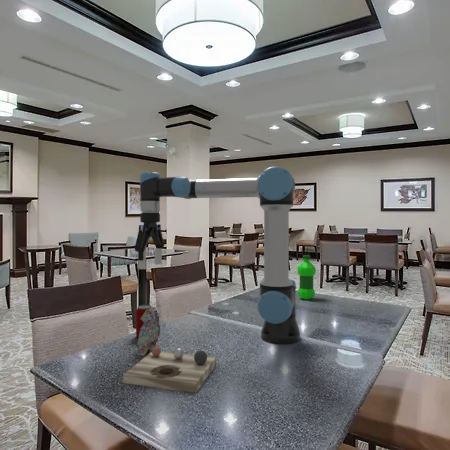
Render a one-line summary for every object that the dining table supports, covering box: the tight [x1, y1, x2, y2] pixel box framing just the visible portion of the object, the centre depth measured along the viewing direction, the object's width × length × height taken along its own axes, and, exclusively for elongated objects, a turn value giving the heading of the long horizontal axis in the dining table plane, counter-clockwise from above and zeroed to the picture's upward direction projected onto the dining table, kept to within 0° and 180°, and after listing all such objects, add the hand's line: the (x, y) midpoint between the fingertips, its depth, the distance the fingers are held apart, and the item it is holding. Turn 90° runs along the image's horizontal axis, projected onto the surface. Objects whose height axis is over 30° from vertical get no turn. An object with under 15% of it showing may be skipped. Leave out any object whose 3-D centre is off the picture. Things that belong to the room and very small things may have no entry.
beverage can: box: [135, 304, 153, 338], centre depth 142 cm, size 7×7×12 cm
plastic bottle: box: [297, 254, 316, 300], centre depth 206 cm, size 10×10×25 cm
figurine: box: [135, 306, 161, 357], centre depth 127 cm, size 9×9×15 cm
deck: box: [122, 350, 217, 394], centre depth 108 cm, size 19×22×2 cm
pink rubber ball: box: [152, 345, 162, 356], centre depth 116 cm, size 3×3×3 cm
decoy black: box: [193, 350, 208, 365], centre depth 109 cm, size 4×4×4 cm
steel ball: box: [173, 347, 185, 359], centre depth 113 cm, size 3×3×3 cm
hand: (150, 266), depth 140 cm, fingers open, 13 cm apart
